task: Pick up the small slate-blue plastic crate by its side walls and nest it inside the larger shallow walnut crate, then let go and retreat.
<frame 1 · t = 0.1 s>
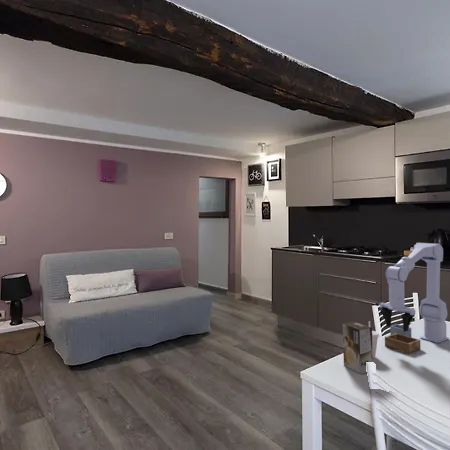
hand: (397, 328, 144), 10 cm above the table, fingers open, 7 cm apart
slate crate: (400, 338, 160), on the table
smoothie: (370, 356, 141), on the table
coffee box: (357, 368, 131), on the table
walnut crate: (402, 347, 149), on the table
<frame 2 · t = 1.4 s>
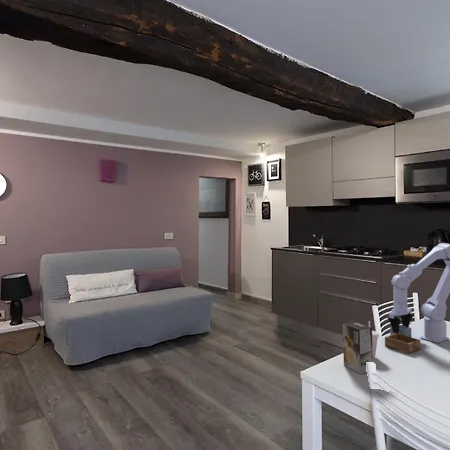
hand: (400, 331, 160), 4 cm above the table, fingers open, 7 cm apart
nothing on the table moved.
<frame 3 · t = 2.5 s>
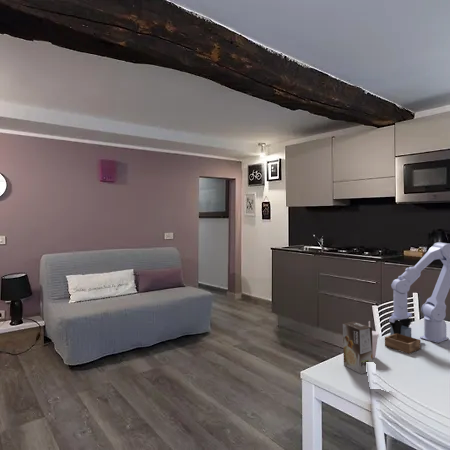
hand: (400, 335, 160), 2 cm above the table, fingers closed on slate crate, 5 cm apart
slate crate: (400, 338, 160), on the table, touching gripper
everything else where it was.
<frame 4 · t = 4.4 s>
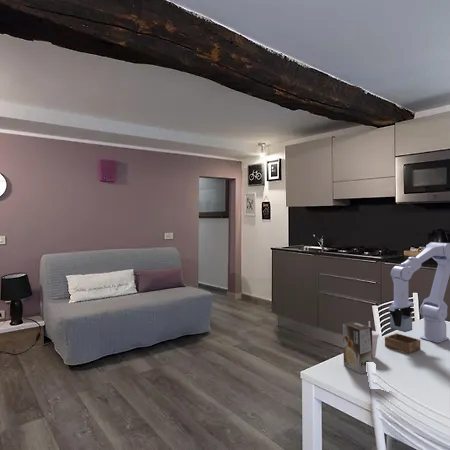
hand: (401, 324, 152), 9 cm above the table, fingers closed on slate crate, 5 cm apart
slate crate: (401, 329, 153), point 7 cm above the table, touching gripper
everything else where it was.
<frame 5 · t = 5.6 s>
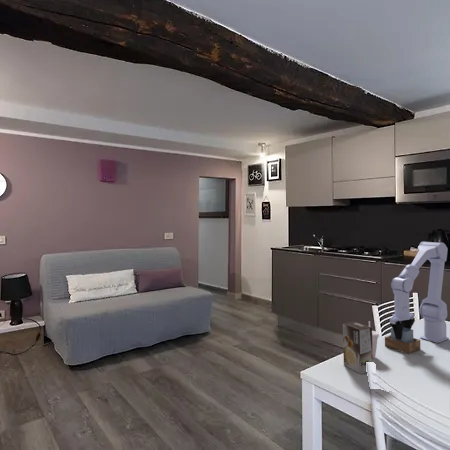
hand: (402, 337, 149), 4 cm above the table, fingers closed on slate crate, 5 cm apart
slate crate: (402, 341, 149), point 3 cm above the table, touching gripper
everything else where it was.
when the fingers open (4 cm above the table, at t = 6.4 s): slate crate drops 2 cm, resting on walnut crate.
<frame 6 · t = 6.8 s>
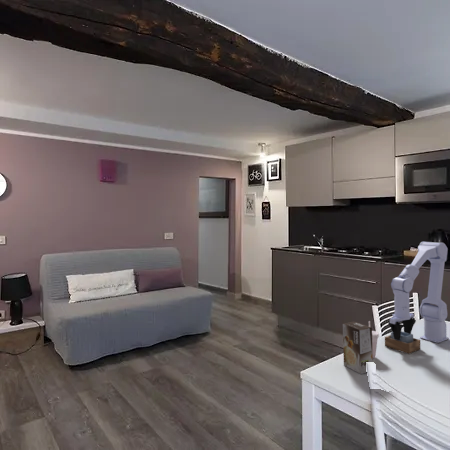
hand: (402, 337, 149), 4 cm above the table, fingers open, 7 cm apart
slate crate: (401, 346, 149), point 1 cm above the table, touching walnut crate
everything else where it was.
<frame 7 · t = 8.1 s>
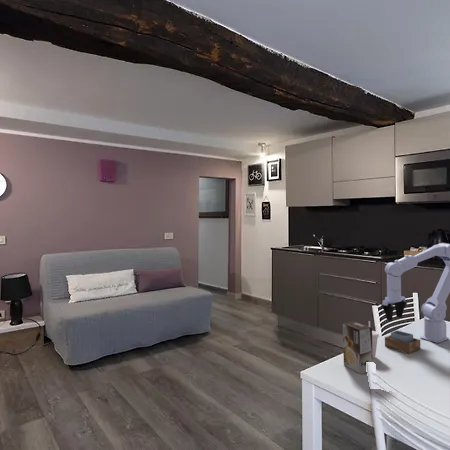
hand: (394, 318, 160), 9 cm above the table, fingers open, 7 cm apart
nothing on the table moved.
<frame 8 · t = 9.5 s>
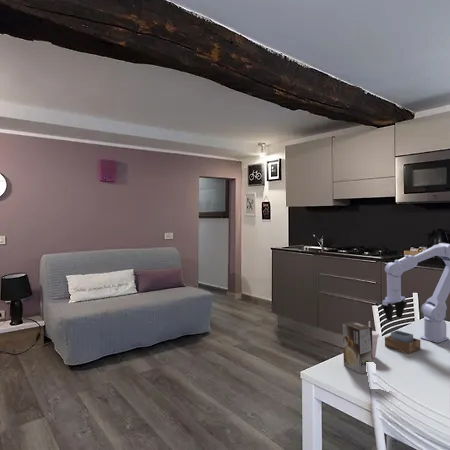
hand: (394, 318, 160), 9 cm above the table, fingers open, 7 cm apart
nothing on the table moved.
at the end: slate crate 0.2 cm off-centre on the walnut crate, point 0.6 cm above the walnut crate's base; slate crate tilted 0°; the gripper is holding nothing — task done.
